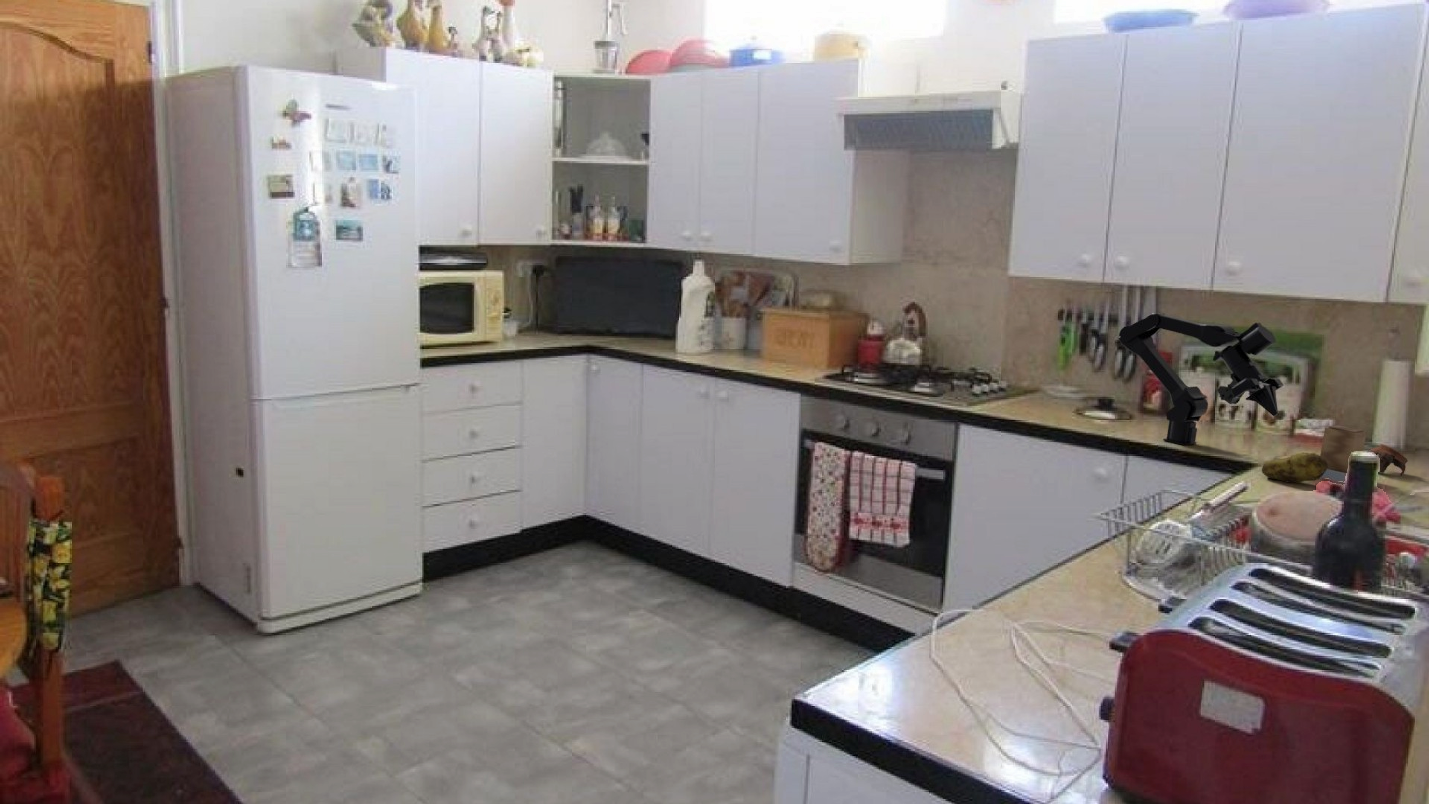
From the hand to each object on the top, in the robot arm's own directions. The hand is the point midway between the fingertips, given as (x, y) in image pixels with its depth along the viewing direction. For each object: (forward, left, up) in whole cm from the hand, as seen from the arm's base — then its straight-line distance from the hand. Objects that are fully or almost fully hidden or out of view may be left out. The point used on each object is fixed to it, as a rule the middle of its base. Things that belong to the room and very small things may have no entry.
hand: (1276, 415), depth 264 cm
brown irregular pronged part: (+19, +20, -13) cm, 30 cm away
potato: (+15, -18, -13) cm, 27 cm away
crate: (+17, 0, -12) cm, 21 cm away
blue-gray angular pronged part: (+13, 0, -13) cm, 18 cm away
